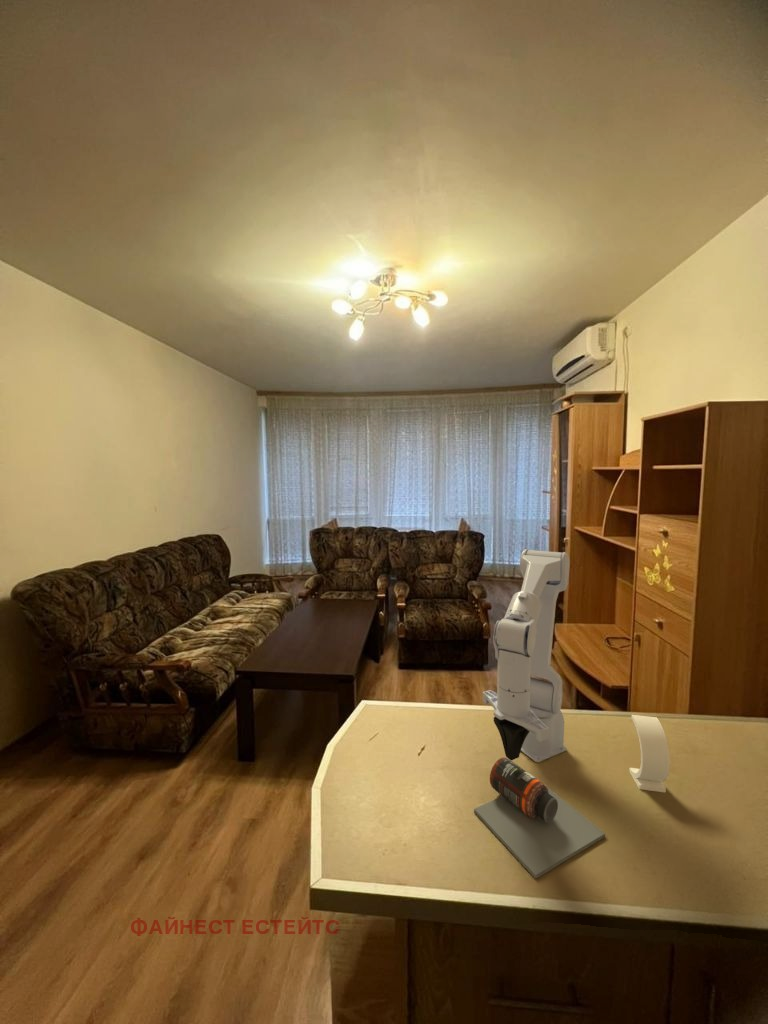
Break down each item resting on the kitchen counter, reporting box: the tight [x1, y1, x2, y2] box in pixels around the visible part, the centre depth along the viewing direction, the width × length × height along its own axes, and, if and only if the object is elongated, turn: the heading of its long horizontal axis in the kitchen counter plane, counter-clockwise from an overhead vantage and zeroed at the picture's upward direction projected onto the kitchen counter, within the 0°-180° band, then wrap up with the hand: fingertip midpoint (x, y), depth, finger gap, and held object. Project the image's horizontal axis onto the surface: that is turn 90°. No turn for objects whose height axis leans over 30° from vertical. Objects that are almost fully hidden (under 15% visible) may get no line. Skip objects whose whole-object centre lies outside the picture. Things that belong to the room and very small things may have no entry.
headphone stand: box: [628, 714, 671, 793], centre depth 79 cm, size 5×6×12 cm
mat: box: [473, 785, 606, 880], centre depth 70 cm, size 16×14×1 cm
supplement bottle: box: [489, 757, 558, 823], centre depth 73 cm, size 6×6×11 cm
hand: (512, 756), depth 75 cm, fingers closed
